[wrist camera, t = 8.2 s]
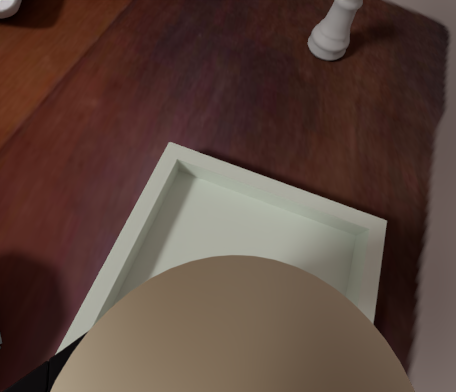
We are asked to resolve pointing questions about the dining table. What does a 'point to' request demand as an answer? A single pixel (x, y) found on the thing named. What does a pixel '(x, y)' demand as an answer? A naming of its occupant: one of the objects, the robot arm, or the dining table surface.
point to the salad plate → (9, 7)
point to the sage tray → (234, 232)
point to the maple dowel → (233, 335)
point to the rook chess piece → (334, 31)
